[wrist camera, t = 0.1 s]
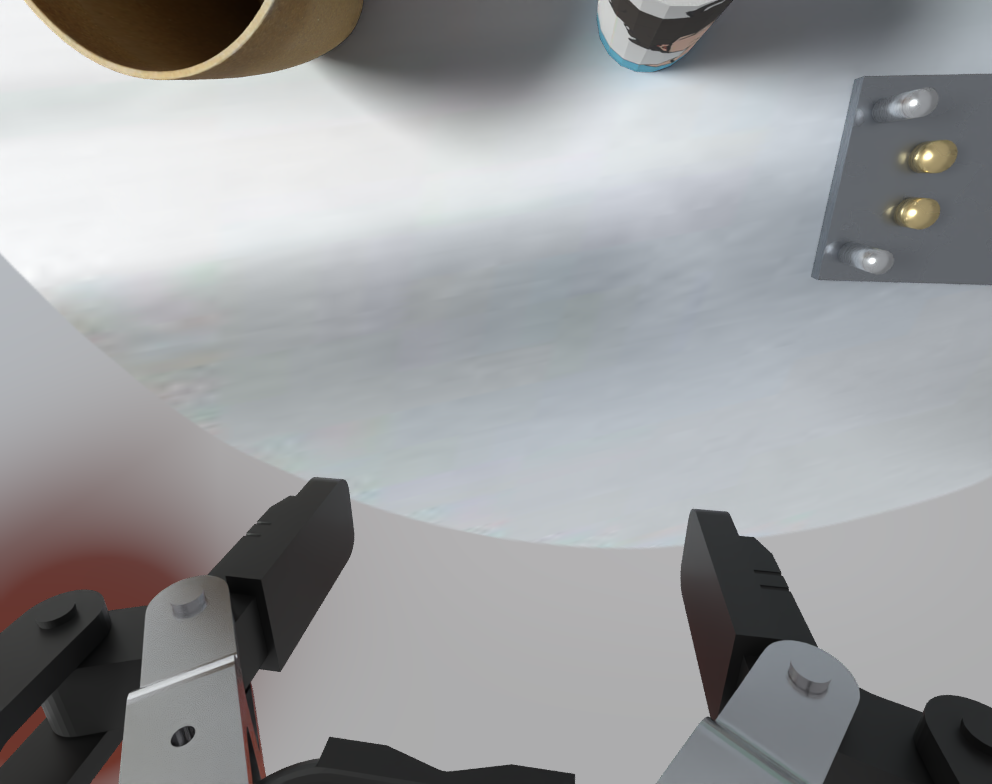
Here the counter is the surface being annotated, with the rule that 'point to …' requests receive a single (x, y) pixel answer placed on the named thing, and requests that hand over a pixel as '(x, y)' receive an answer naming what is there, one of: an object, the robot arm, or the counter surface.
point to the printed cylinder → (654, 29)
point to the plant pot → (199, 34)
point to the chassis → (912, 183)
